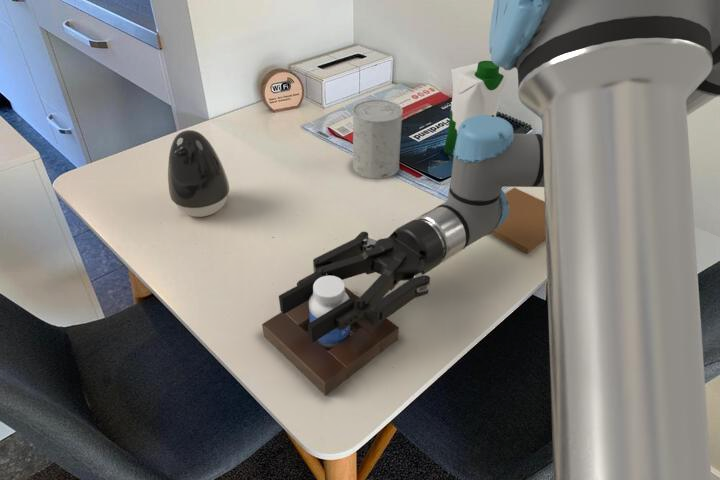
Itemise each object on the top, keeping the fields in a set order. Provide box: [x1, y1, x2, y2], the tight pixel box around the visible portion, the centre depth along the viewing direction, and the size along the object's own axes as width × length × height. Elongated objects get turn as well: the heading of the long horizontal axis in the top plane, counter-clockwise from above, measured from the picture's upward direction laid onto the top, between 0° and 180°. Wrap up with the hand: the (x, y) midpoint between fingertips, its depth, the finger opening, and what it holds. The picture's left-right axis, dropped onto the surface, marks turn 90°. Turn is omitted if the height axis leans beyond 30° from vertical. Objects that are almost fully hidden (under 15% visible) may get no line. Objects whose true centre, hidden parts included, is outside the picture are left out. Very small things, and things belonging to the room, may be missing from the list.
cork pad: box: [490, 187, 546, 254], centre depth 92 cm, size 14×12×1 cm
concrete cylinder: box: [352, 99, 404, 180], centre depth 103 cm, size 10×10×12 cm
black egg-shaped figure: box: [167, 129, 230, 218], centre depth 90 cm, size 10×10×15 cm
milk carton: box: [443, 60, 509, 158], centre depth 105 cm, size 9×9×20 cm
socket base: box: [261, 286, 400, 396], centre depth 70 cm, size 13×13×2 cm
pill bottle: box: [309, 276, 351, 351], centre depth 68 cm, size 6×5×10 cm
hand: (295, 318), depth 64 cm, fingers closed on pill bottle, 5 cm apart
